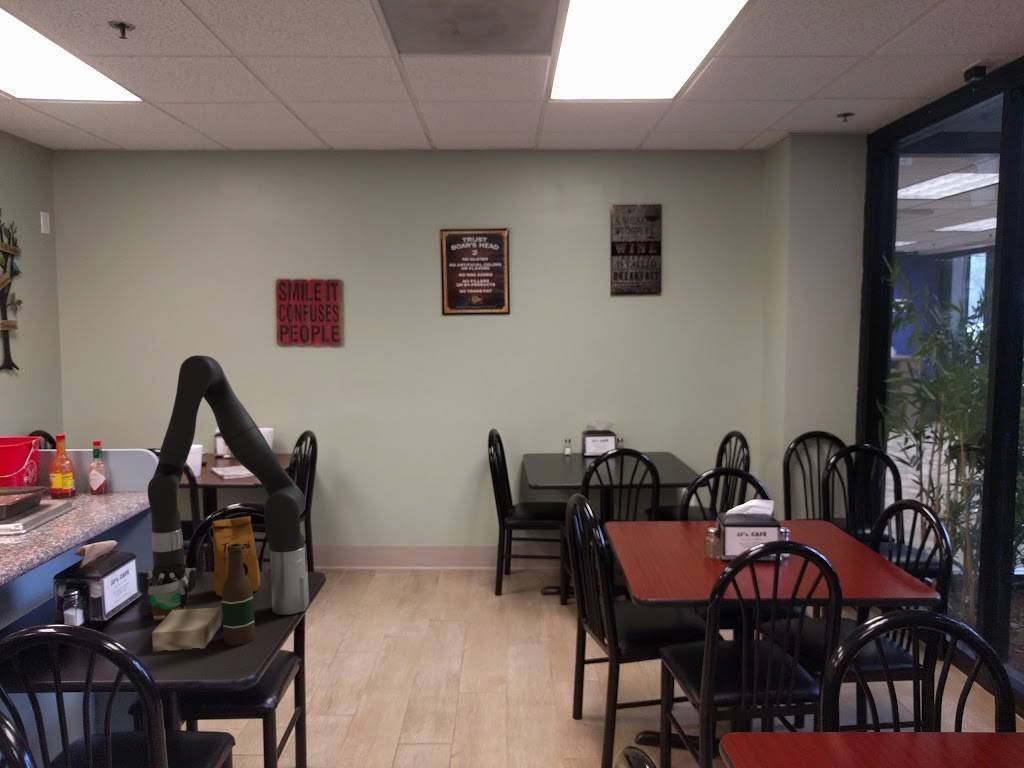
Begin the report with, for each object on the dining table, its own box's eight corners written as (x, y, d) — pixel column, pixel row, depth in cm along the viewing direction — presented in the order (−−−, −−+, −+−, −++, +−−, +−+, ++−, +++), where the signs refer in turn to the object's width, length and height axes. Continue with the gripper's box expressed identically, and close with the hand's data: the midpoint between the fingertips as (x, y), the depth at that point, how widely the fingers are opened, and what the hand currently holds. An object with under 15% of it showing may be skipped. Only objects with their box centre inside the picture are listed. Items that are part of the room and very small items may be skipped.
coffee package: (261, 593, 215) (257, 519, 213) (215, 601, 210) (211, 525, 208) (258, 582, 224) (254, 511, 222) (214, 589, 219) (209, 516, 217)
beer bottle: (230, 632, 188) (225, 540, 186) (261, 632, 188) (256, 540, 185) (217, 646, 180) (212, 550, 178) (249, 646, 180) (244, 549, 178)
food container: (171, 625, 193) (168, 587, 192) (150, 624, 194) (147, 587, 193) (199, 606, 205) (197, 571, 204) (180, 605, 206) (177, 570, 205)
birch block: (221, 626, 193) (220, 607, 193) (204, 649, 179) (203, 629, 179) (173, 628, 192) (172, 610, 192) (153, 652, 178) (151, 632, 178)
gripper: (200, 540, 202) (203, 600, 204) (145, 543, 201) (149, 604, 202) (191, 549, 195) (195, 611, 196) (134, 552, 193) (138, 614, 195)
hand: (171, 607), depth 199 cm, fingers closed on food container, 5 cm apart
